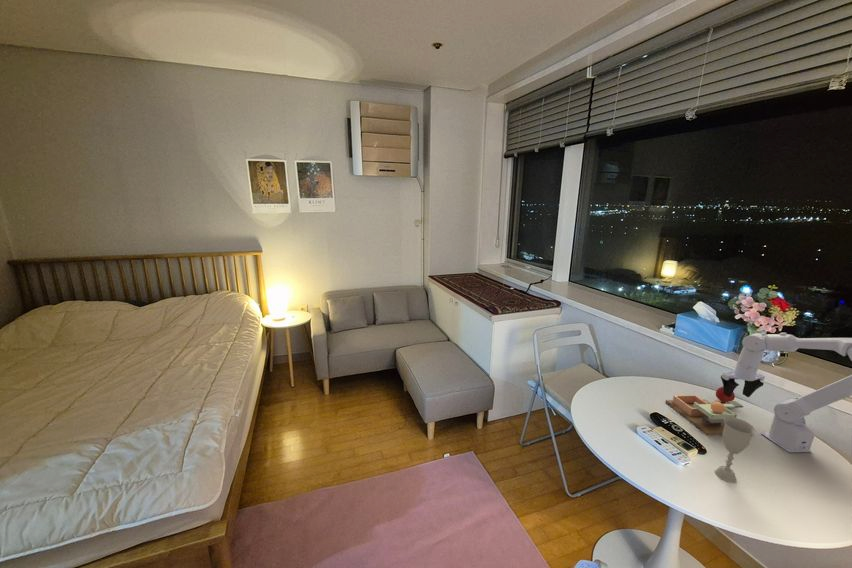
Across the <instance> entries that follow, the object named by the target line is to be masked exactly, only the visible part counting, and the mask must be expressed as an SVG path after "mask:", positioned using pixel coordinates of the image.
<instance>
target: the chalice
mask: <svg viewBox="0 0 852 568" xmlns="http://www.w3.org/2000/svg"><path fill="white" fill-rule="evenodd" d="M724 422H725V426H724V430H723V435H722V440H723V443H724V446H725V449H726V450H727V452H729V453H728V454H727V456H726V457H727V459H726V460H725V463H726V465H719V467H718V468H716V469H715V470H714V474H715V475H716V476H717V477H718V479H721V480H723V481H725V482H727V483H731V484H732V483H733V484H734V483H737V481H738V480H737V479H738V478H737V476H736V473H735V471H734V470H733V469H732V468H731V466H733V465H734V463H733V462H732V461H733V460H734V459H735V458H734V455H738V454H740V453H742V452H743V451H744V450H746V448H748V446H749V445H750V442H751V439H752V435H753V434H754V433H755V432H756V427H754V426H753V425H752V424H750V423H749V422H747V421H745V420H743V419H740V418H737V417H736V418H733V417H726V418H724Z"/></svg>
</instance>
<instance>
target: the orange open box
mask: <svg viewBox="0 0 852 568" xmlns="http://www.w3.org/2000/svg"><path fill="white" fill-rule="evenodd" d="M672 400H673V403H674V404H675V405H676V406H678V407H679V408H680V409H682V410H683V411H684V412H686V413H687V414H688V415H689V416H703V414H704V413H702V412H701V411H700V410H698V409H697V408H691V407H690V406H689V405H687V404H686V403H694V402H696V403H698V404H707V403H706V402H704V401H703V400H702V399H701V398H700V397H698V396H697V395H696V394H691V395H690V394H683V395H681V394H679V395H677V394H676V395H673V398H672Z"/></svg>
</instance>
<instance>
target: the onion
mask: <svg viewBox="0 0 852 568" xmlns="http://www.w3.org/2000/svg"><path fill="white" fill-rule="evenodd" d="M735 395H736V394H735V392H734V391H733V393H732V395H731V396H730V397H727V396H726V395H724V389H723V386H720V387H717V389H716V391H715V396H716V398H717V399H718V400H719V402H720V403H722V404H728V403H727V401H735V398H736V396H735Z"/></svg>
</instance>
